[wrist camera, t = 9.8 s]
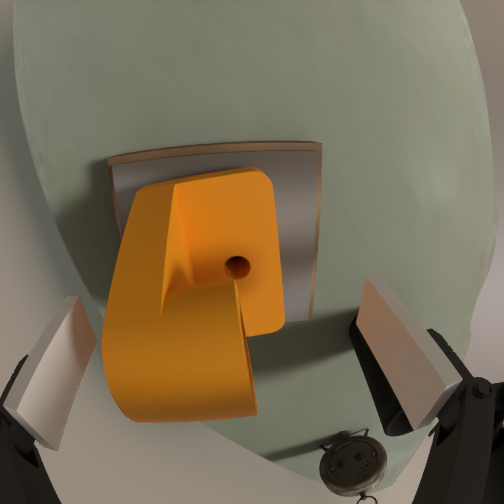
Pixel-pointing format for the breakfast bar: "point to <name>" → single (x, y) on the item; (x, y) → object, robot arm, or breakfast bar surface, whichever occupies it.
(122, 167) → the plinth
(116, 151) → the breakfast bar surface
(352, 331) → the cup
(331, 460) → the alarm clock
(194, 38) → the breakfast bar surface
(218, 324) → the bracket
